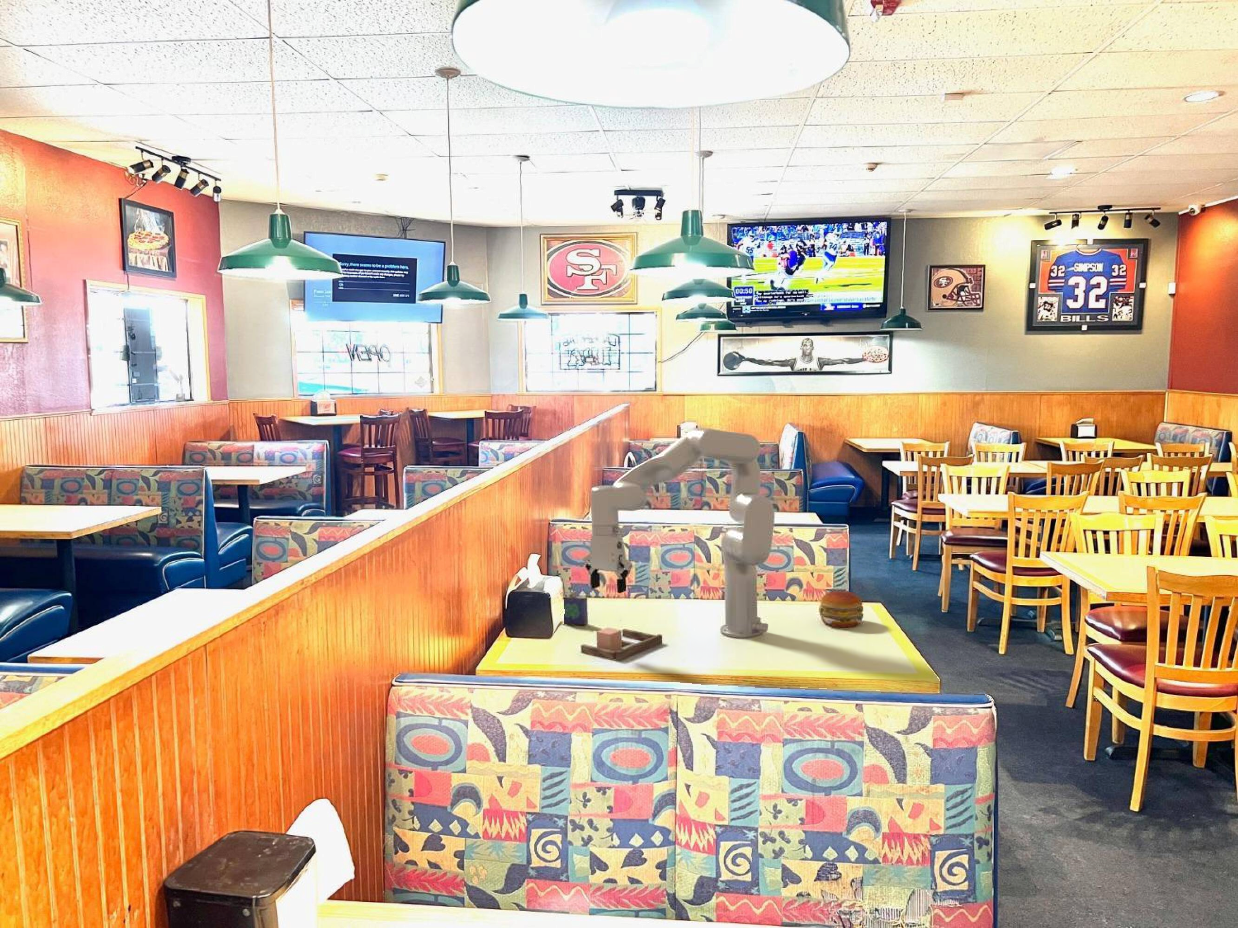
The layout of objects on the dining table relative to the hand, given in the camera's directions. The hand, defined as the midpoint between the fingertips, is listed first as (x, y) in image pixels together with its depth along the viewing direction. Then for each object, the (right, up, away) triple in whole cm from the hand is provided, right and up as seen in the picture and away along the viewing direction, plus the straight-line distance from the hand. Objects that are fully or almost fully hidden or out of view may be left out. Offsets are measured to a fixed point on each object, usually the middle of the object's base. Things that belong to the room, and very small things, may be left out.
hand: (608, 589), depth 249 cm
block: (0, -18, +2) cm, 18 cm away
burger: (+71, -14, +22) cm, 76 cm away
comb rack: (+3, -17, +5) cm, 18 cm away
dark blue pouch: (-11, -15, +30) cm, 36 cm away
